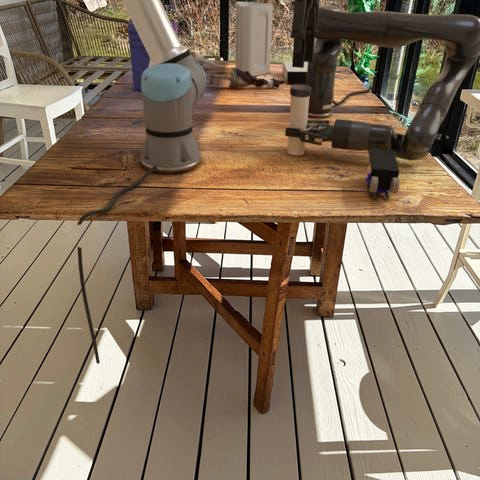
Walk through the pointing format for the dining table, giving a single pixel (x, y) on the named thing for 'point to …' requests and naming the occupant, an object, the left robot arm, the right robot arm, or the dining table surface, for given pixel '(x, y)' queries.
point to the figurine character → (382, 172)
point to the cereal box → (139, 54)
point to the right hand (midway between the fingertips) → (287, 128)
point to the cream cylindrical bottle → (297, 123)
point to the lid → (300, 90)
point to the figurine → (246, 79)
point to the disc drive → (295, 73)
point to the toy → (201, 60)
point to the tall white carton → (253, 37)
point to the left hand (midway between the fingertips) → (302, 64)
